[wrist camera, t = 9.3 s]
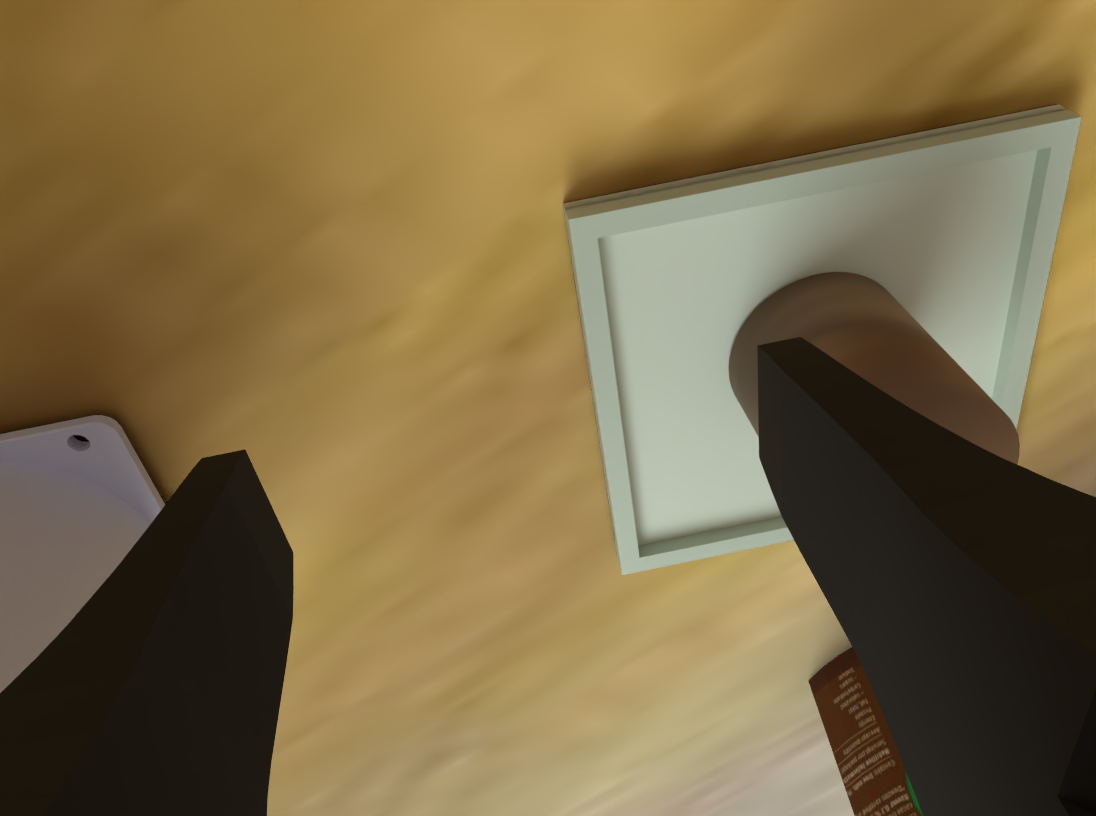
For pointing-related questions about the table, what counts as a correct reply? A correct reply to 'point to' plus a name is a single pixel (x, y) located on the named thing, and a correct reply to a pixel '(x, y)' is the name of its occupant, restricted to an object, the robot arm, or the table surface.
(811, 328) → the walnut cylinder
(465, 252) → the table surface
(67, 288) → the table surface
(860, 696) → the food container
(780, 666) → the table surface
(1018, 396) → the coaster
